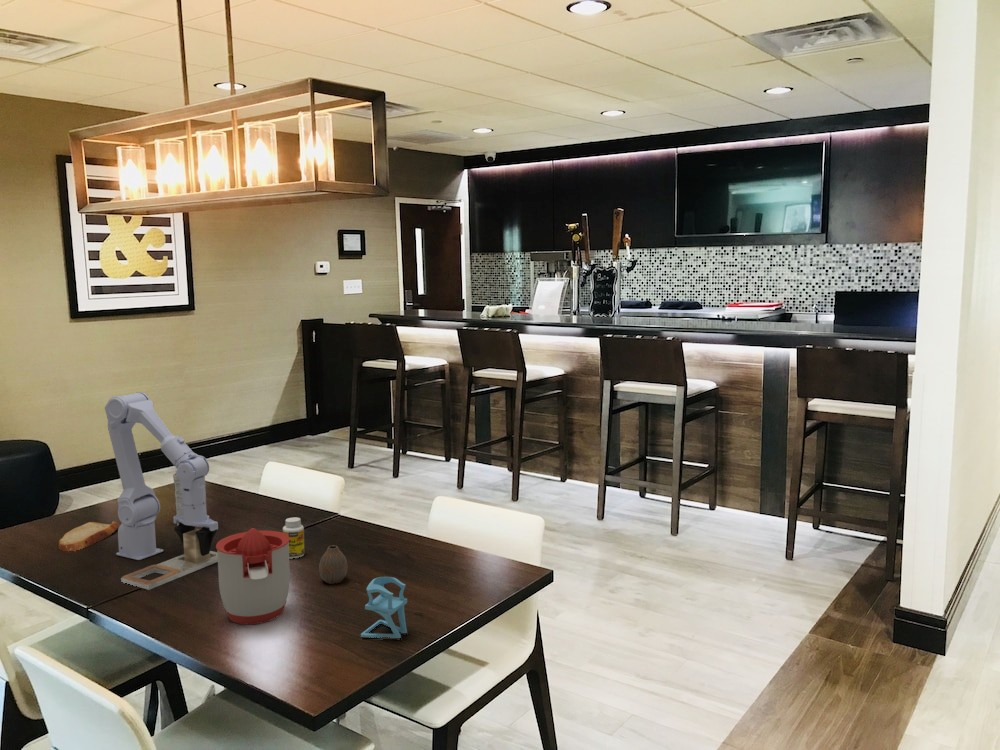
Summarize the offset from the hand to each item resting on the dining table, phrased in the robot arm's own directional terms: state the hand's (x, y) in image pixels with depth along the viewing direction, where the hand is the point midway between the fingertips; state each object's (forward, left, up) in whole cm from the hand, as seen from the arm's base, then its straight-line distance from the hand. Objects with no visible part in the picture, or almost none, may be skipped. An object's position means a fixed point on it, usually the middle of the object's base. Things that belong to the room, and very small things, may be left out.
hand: (197, 552), depth 206 cm
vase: (+41, +6, -3) cm, 42 cm away
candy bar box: (-30, +24, -3) cm, 39 cm away
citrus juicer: (+39, -18, -3) cm, 43 cm away
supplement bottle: (+20, +15, -3) cm, 25 cm away
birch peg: (0, 0, -2) cm, 2 cm away
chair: (+70, -12, -3) cm, 71 cm away
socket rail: (0, -7, -2) cm, 7 cm away
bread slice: (-43, -1, -3) cm, 43 cm away
